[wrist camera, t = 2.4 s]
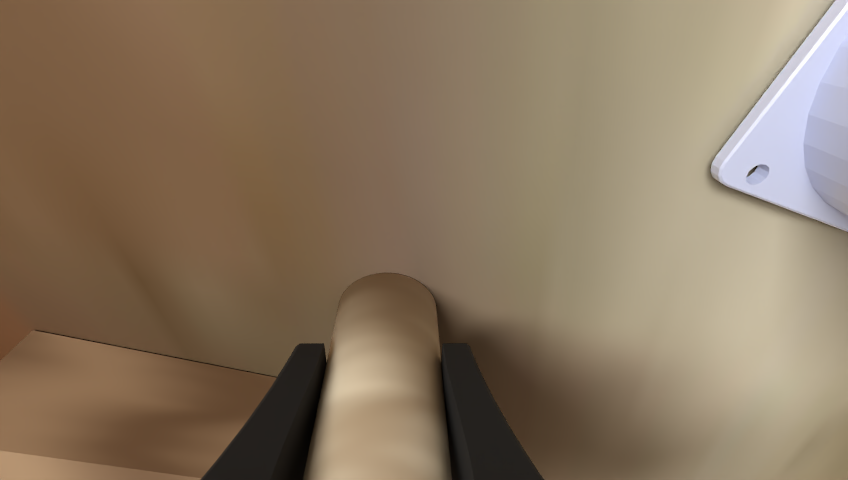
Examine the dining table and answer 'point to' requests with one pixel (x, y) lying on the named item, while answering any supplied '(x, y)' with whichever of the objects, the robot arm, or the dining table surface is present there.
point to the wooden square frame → (116, 412)
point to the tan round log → (382, 388)
